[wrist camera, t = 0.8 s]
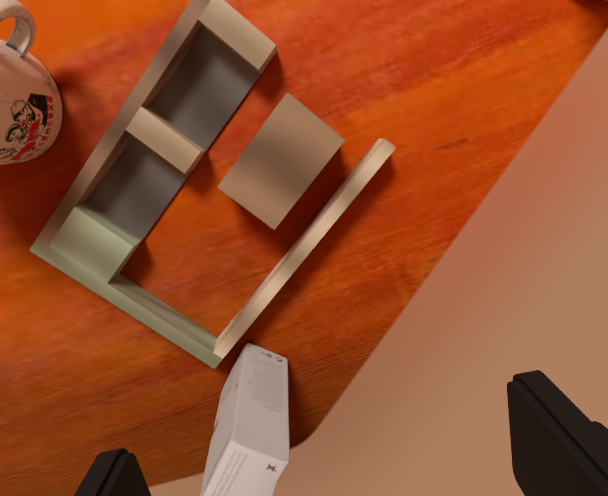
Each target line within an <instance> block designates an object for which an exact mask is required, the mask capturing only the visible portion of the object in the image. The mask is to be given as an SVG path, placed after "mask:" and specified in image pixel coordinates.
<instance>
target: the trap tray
mask: <svg viewBox="0 0 608 496" xmlns="http://www.w3.org/2000/svg"><path fill="white" fill-rule="evenodd" d="M276 52H277V47H276V44H274V43H273V42H272V41H271V40H270V39H269V38H267V37H266V36H265V35H264V34H263V33H262V32H260V31H259V30H258V29H257V28H256V27H255V26H253V25H252V24H251V23H250V22H249V21H248V20H246V19H245V18H244V17H243V16H242V15H241V14H239V13H238V12H237V11H236V10H235V9H234V8H232V7H231V6H230V5H229V4H228V3H227V2H225V1H224V0H191V1H190V3H189V4H188V6H187V7H186V9H185V10H184V12H183V13H182V15H181V16H180V18H179V20H178V21H177V23H176V24H175V26H174V27H173V29H172V30H171V32H170V33H169V35H168V36H167V38H166V40H165V41H164V43H163V44H162V46H161V47H160V49H159V50H158V52H157V53H156V55H155V57H154V58H153V60H152V61H151V63H150V64H149V66H148V67H147V69H146V70H145V72H144V74H143V75H142V77H141V78H140V80H139V81H138V83H137V84H136V86H135V87H134V89H133V91H132V92H131V94H130V95H129V97H128V98H127V100H126V101H125V103H124V104H123V106H122V108H121V109H120V111H119V112H118V114H117V115H116V117H115V118H114V120H113V121H112V123H111V125H110V126H109V128H108V129H107V131H106V132H105V134H104V135H103V137H102V138H101V140H100V142H99V143H98V145H97V146H96V148H95V149H94V151H93V152H92V154H91V155H90V157H89V158H88V160H87V162H86V163H85V165H84V166H83V168H82V169H81V171H80V172H79V174H78V175H77V177H76V179H75V180H74V182H73V183H72V185H71V186H70V188H69V189H68V191H67V192H66V194H65V196H64V197H63V199H62V200H61V202H60V203H59V205H58V206H57V208H56V209H55V211H54V213H53V214H52V216H51V217H50V219H49V220H48V222H47V223H46V225H45V226H44V228H43V230H42V231H41V233H40V234H39V236H38V237H37V239H36V240H35V242H34V243H33V245H32V247H31V248H30V250H29V251H31V252H32V253H34V254H36V255H37V256H39V257H40V258H42V259H43V260H45V261H46V262H48V263H50V264H51V265H53V266H54V267H56V268H57V269H59V270H61V271H62V272H64V273H65V274H67V275H68V276H70V277H71V278H73V279H75V280H76V281H78V282H79V283H81V284H82V285H84V286H86V287H87V288H89V289H90V290H92V291H93V292H95V293H96V294H98V295H100V296H101V297H103V298H104V299H106V300H107V301H109V302H111V303H112V304H114V305H115V306H117V307H118V308H120V309H121V310H123V311H125V312H126V313H128V314H129V315H131V316H132V317H134V318H136V319H137V320H139V321H140V322H142V323H143V324H145V325H146V326H148V327H150V328H151V329H153V330H154V331H156V332H157V333H159V334H161V335H162V336H164V337H165V338H167V339H168V340H170V341H171V342H173V343H175V344H176V345H178V346H179V347H181V348H182V349H184V350H186V351H187V352H189V353H190V354H192V355H193V356H195V357H196V358H198V359H200V360H201V361H203V362H204V363H206V364H207V365H209V366H210V367H212V368H214V369H215V368H216V367H217V365H218V364H219V363H220V362H221V361H222V359H223V358H224V357H225V356H226V354H227V353H228V352H229V351H230V350H231V348H232V347H233V346H234V345H235V344H236V342H237V341H238V340H239V339H240V337H241V336H242V335H243V334H244V333H245V331H246V330H247V329H248V328H249V326H250V325H251V324H252V323H253V322H254V320H255V319H256V318H257V317H258V315H259V314H260V313H261V312H262V311H263V309H264V308H265V307H266V306H267V305H268V303H269V302H270V301H271V300H272V298H273V297H274V296H275V295H276V294H277V292H278V291H279V290H280V289H281V287H282V286H283V285H284V284H285V283H286V281H287V280H288V279H289V278H290V276H291V275H292V274H293V273H294V272H295V270H296V269H297V268H298V267H299V266H300V264H301V263H302V262H303V261H304V259H305V258H306V257H307V256H308V255H309V253H310V252H311V251H312V250H313V248H314V247H315V246H316V245H317V244H318V242H319V241H320V240H321V239H322V237H323V236H324V235H325V234H326V233H327V231H328V230H329V229H330V228H331V227H332V225H333V224H334V223H335V222H336V220H337V219H338V218H339V217H340V216H341V214H342V213H343V212H344V211H345V209H346V208H347V207H348V206H349V205H350V203H351V202H352V201H353V200H354V198H355V197H356V196H357V195H358V194H359V192H360V191H361V190H362V189H363V188H364V186H365V185H366V184H367V183H368V181H369V180H370V179H371V178H372V177H373V175H374V174H375V173H376V172H377V170H378V169H379V168H380V167H381V166H382V164H383V163H384V162H385V161H386V159H387V158H388V157H389V156H390V155H391V153H392V152H393V151H394V150H395V149H396V148H395V147H394V146H393V145H392V144H391V143H390V142H388V141H387V140H386V139H380V138H378V140H377V141H376V142H375V143H374V145H373V146H372V147H371V148H370V150H369V151H368V152H367V153H366V155H365V156H364V157H363V158H362V160H361V161H360V162H359V163H358V165H357V166H356V167H355V168H354V170H353V171H352V172H351V173H350V174H349V176H348V177H347V178H346V179H345V181H344V182H343V183H342V184H341V186H340V187H339V188H338V189H337V191H336V192H335V193H334V194H333V196H332V197H331V198H330V199H329V201H328V202H327V203H326V204H325V205H324V207H323V208H322V209H321V210H320V212H319V213H318V214H317V215H316V217H315V218H314V219H313V220H312V222H311V223H310V224H309V225H308V227H307V228H306V229H305V230H304V232H303V233H302V234H301V235H300V236H299V238H298V239H297V240H296V241H295V243H294V244H293V245H292V246H291V248H290V249H289V250H288V251H287V253H286V254H285V255H284V256H283V258H282V259H281V260H280V261H279V263H278V264H277V265H276V266H275V268H274V269H273V270H272V271H271V272H270V274H269V275H268V276H267V277H266V279H265V280H264V281H263V282H262V284H261V285H260V286H259V287H258V289H257V290H256V291H255V292H254V294H253V295H252V296H251V297H250V299H249V300H248V301H247V302H246V303H245V305H244V306H243V307H242V308H241V310H240V311H239V312H238V313H237V315H236V316H235V317H234V318H233V320H232V321H231V322H230V323H229V325H228V326H227V327H226V328H225V330H224V331H223V332H222V333H221V334H220V336H219V337H218V338H217V337H216V336H214V335H213V334H211V333H209V332H208V331H206V330H205V329H203V328H202V327H200V326H199V325H197V324H196V323H194V322H193V321H191V320H190V319H188V318H187V317H185V316H184V315H182V314H181V313H179V312H178V311H176V310H175V309H173V308H172V307H170V306H169V305H167V304H166V303H164V302H162V301H161V300H159V299H158V298H156V297H155V296H153V295H152V294H150V293H149V292H147V291H146V290H144V289H143V288H141V287H140V286H138V285H137V284H135V283H134V282H132V281H131V280H129V279H128V278H126V277H125V276H123V275H122V274H120V271H121V270H122V269H123V267H124V266H125V264H126V263H127V262H128V260H129V259H130V257H131V256H132V254H133V253H134V252H135V250H136V249H137V247H138V246H139V245H140V243H141V242H142V240H143V239H144V238H145V236H146V235H147V233H148V232H149V231H150V229H151V228H152V226H153V225H154V224H155V222H156V221H157V219H158V218H159V217H160V215H161V214H162V212H163V211H164V210H165V208H166V207H167V205H168V204H169V203H170V201H171V200H172V198H173V197H174V196H175V194H176V193H177V191H178V190H179V189H180V187H181V186H182V184H183V183H184V182H185V180H186V179H187V177H188V176H189V175H190V173H191V172H192V170H193V169H194V167H195V166H196V165H197V163H198V162H199V160H200V159H201V158H202V156H203V155H204V153H205V152H206V151H207V149H208V148H209V146H210V145H211V144H212V142H213V141H214V139H215V138H216V137H217V135H218V134H219V132H220V131H221V130H222V128H223V127H224V125H225V124H226V123H227V121H228V120H229V118H230V117H231V116H232V114H233V113H234V111H235V110H236V109H237V107H238V106H239V104H240V103H241V102H242V100H243V99H244V97H245V96H246V95H247V93H248V92H249V90H250V89H251V88H252V86H253V85H254V83H255V82H256V80H257V79H258V78H259V76H260V75H261V73H262V72H263V71H264V69H265V68H266V66H267V65H268V64H269V62H270V61H271V59H272V58H273V57H274V55H275V54H276Z"/></svg>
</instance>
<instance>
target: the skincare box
mask: <svg viewBox="0 0 608 496" xmlns="http://www.w3.org/2000/svg"><path fill="white" fill-rule="evenodd" d="M288 411H289V408H288V360H287V358H284V357H282V356H280V355H278V354H275V353H273V352H271V351H268V350H266V349H263V348H261V347H259V346H256V345H253V344H251V343H247V344H246V345H245V346H244V348H243V349H242V351H241V353H240V355H239V356H238V358H237V360H236V362H235V364H234V366H233V368H232V370H231V372H230V374H229V376H228V378H227V381H226V383H225V385H224V387H223V390H222V392H221V397H220V401H219V406H218V410H217V415H216V420H215V425H214V430H213V434H212V439H211V444H210V448H209V453H208V458H207V463H206V467H205V472H204V478H203V484H202V489H201V494H200V496H272V495H273V493H274V491H275V488H276V485H277V483H278V481H279V479H280V478H281V476H282V474H283V472H284V470H285V469H286V467H287V465H288V463H289V458H290V457H289V412H288Z"/></svg>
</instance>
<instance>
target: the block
mask: <svg viewBox="0 0 608 496" xmlns="http://www.w3.org/2000/svg"><path fill="white" fill-rule="evenodd" d="M344 141H345V140H344V139H343V138H342V137H341V136H340V135H338V134H337V133H336V132H335V131H334V130H332V129H331V128H330V127H329V126H328V125H326V124H325V123H324V122H323V121H322V120H320V119H319V118H318V117H317V116H316V115H314V114H313V113H312V112H311V111H310V110H309V109H307V108H306V107H305V106H304V105H303V104H301V103H300V102H299V101H298V100H297V99H295V98H294V97H293V96H292V95H291V94H289V93H288V92H287V93H286V94H285V96H284V97H283V98H282V100H281V101H280V102H279V104H278V105H277V107H276V108H275V109H274V111H273V112H272V113H271V115H270V116H269V117H268V119H267V120H266V121H265V123H264V124H263V126H262V127H261V128H260V130H259V131H258V132H257V134H256V135H255V136H254V138H253V139H252V140H251V142H250V143H249V145H248V146H247V147H246V149H245V150H244V151H243V153H242V154H241V155H240V157H239V158H238V159H237V161H236V162H235V164H234V165H233V166H232V168H231V169H230V170H229V172H228V173H227V174H226V176H225V177H224V178H223V180H222V181H221V183H220V184H219V185H218V187H217V188H219V189H220V190H221V191H223V192H224V193H225V194H227V195H228V196H229V197H231V198H232V199H233V200H235V201H236V202H237V203H239V204H240V205H241V206H243V207H244V208H245V209H247V210H248V211H249V212H251V213H252V214H253V215H255V216H256V217H257V218H259V219H260V220H261V221H263V222H264V223H265V224H267V225H268V226H269V227H271V228H272V229H273V230H275V228H276V227H277V226H278V225H279V223H280V222H281V221H282V220H283V218H284V217H285V216H286V214H287V213H288V212H289V211H290V209H291V208H292V207H293V206H294V204H295V203H296V202H297V201H298V199H299V198H300V197H301V196H302V194H303V193H304V192H305V190H306V189H307V188H308V187H309V185H310V184H311V183H312V182H313V180H314V179H315V178H316V177H317V175H318V174H319V173H320V171H321V170H322V169H323V168H324V166H325V165H326V164H327V163H328V161H329V160H330V159H331V158H332V156H333V155H334V154H335V153H336V151H337V150H338V149H339V147H340V146H341V145H342V144H343V142H344Z"/></svg>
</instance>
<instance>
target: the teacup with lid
mask: <svg viewBox="0 0 608 496" xmlns="http://www.w3.org/2000/svg"><path fill="white" fill-rule="evenodd" d="M13 16H15V27H14V30H13V32H12V34H11V36H10V37H9V39H8V41H7V42H6V41H3V40H0V165H5V164H13V163H20V162H25V161H29V160H32V159H34V158H36V157H38V156H40V155H41V154H43V153H44V152H45V151H46V150H47V149H49V147H50V146H51V145H52V144H53V142H54V141H55V139H56V137H57V136H58V133H59V131H60V127H61V123H62V102H61V98H60V94H59V91H58V88H57V86H56V84H55V82H54V80H53V78H52V77H51V75H50V73H49V72H48V71H47V69H46V68H45V67H44V66H43V65H42V63H41V62H40V61H39V60H38V59H36V58H35V57H34V56H33V55H32V54H30V53H29V52H28V51H29V50H30V48H31V46H32V44H33V42H34V39H35V35H36V24H35V20H34V18H33V16H32V14H31V13H30V12H29V10H28V9H27V8H26V7H25V6H23V5H22V4H21V3H20V2H19V1H17V0H0V22H1V21H2V20H4V19H6V18H9V17H13Z"/></svg>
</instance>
